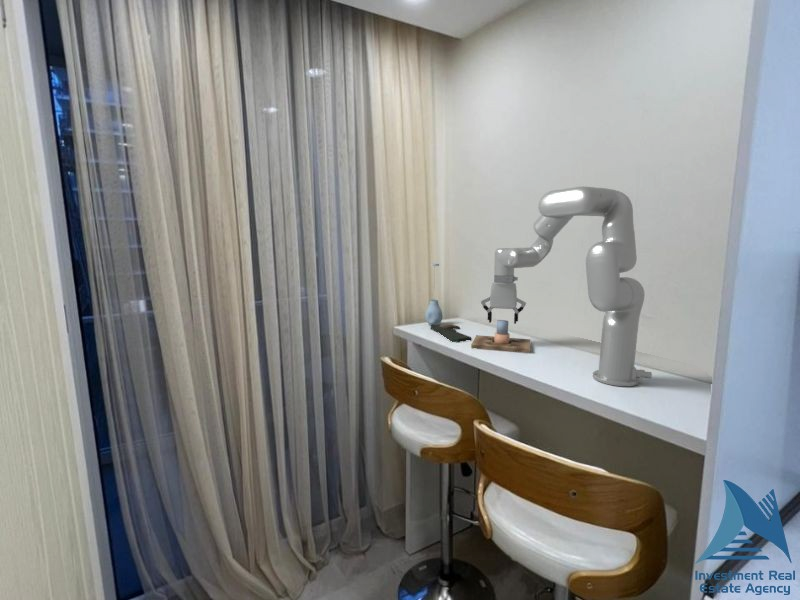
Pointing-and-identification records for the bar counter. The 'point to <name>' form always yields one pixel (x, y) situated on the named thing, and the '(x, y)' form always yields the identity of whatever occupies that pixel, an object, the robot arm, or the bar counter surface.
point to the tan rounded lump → (501, 338)
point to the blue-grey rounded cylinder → (502, 327)
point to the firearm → (450, 332)
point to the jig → (489, 344)
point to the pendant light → (434, 309)
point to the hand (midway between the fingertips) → (502, 322)
